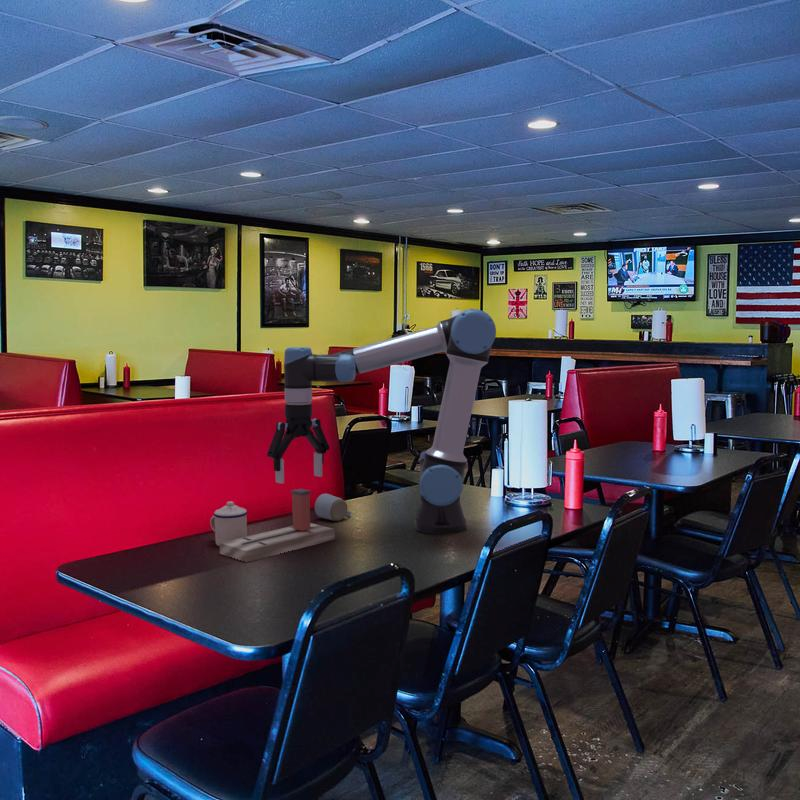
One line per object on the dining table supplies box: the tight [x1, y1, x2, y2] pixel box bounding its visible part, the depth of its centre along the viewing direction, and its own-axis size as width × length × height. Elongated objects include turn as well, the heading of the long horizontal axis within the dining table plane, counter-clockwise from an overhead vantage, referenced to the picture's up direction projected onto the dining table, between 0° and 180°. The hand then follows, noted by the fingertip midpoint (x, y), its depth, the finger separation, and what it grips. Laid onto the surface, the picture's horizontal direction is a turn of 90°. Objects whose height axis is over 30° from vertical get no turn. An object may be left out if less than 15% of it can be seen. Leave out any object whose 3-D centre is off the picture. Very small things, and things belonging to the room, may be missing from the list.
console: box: [219, 522, 336, 563], centre depth 224 cm, size 12×30×3 cm, turn 136°
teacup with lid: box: [209, 501, 248, 547], centre depth 228 cm, size 12×9×12 cm
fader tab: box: [290, 488, 311, 531], centre depth 229 cm, size 4×3×11 cm
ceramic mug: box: [314, 493, 352, 522], centre depth 255 cm, size 11×8×8 cm
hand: (299, 479), depth 228 cm, fingers open, 13 cm apart
